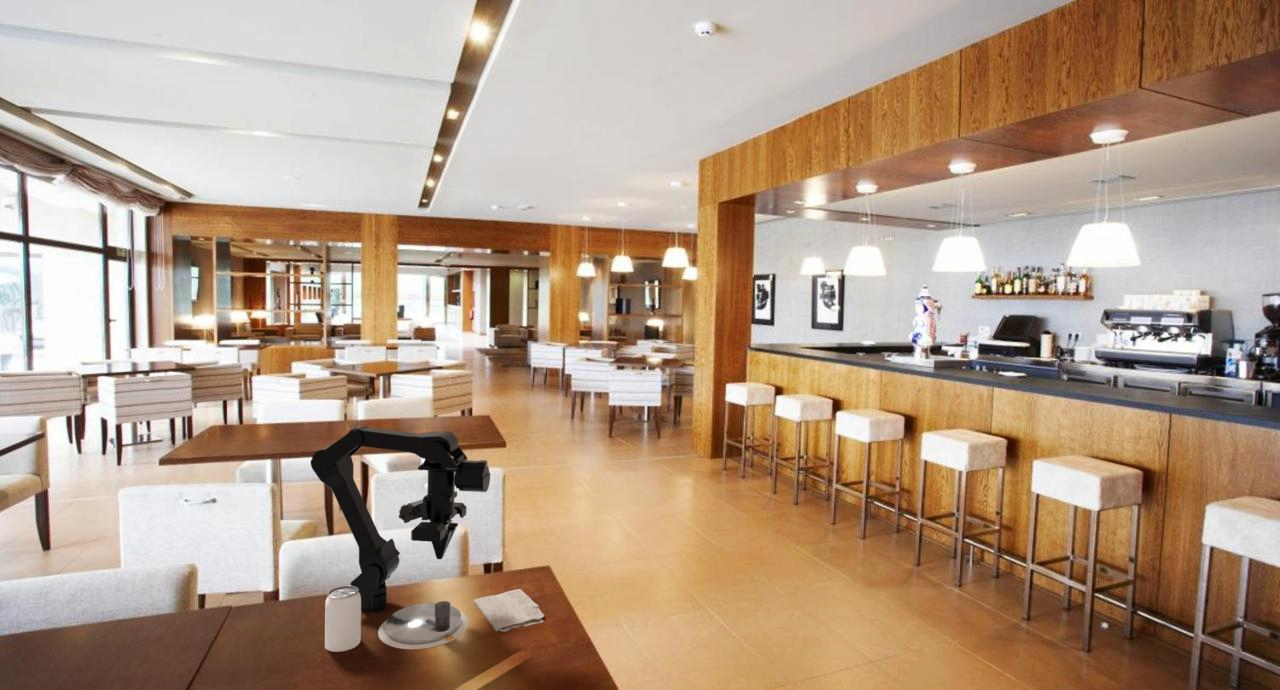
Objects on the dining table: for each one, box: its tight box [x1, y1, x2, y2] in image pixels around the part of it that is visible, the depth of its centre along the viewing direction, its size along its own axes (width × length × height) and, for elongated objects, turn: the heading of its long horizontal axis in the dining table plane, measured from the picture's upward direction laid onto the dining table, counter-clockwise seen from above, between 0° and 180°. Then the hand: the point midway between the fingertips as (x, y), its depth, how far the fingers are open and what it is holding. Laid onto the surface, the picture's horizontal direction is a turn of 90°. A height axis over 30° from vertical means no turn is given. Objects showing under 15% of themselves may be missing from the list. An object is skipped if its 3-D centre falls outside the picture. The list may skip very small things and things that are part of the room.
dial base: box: [377, 611, 469, 650], centre depth 137 cm, size 18×18×2 cm
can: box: [324, 585, 362, 653], centre depth 129 cm, size 6×6×12 cm
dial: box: [386, 600, 462, 644], centre depth 137 cm, size 15×15×6 cm
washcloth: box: [473, 588, 545, 633], centre depth 146 cm, size 12×18×3 cm, turn 33°
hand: (439, 558), depth 144 cm, fingers closed
